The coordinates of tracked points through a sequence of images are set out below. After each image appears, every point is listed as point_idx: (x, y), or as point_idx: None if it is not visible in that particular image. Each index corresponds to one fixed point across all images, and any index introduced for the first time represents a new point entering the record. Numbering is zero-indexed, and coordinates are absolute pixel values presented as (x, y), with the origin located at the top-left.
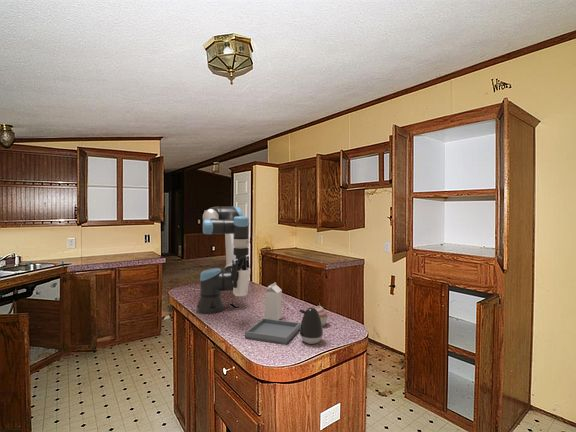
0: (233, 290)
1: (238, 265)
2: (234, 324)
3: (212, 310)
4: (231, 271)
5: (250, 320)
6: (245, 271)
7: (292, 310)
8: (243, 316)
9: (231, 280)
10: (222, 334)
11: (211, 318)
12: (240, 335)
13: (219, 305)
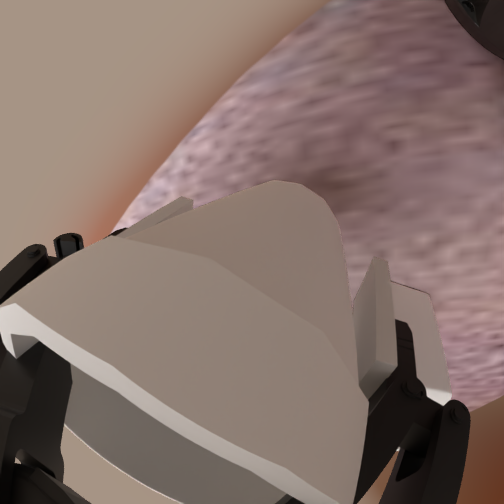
0: (162, 210)
1: (24, 468)
2: (314, 146)
3: (456, 6)
4: (68, 262)
5: (378, 215)
6: (103, 446)
7: (473, 361)
8: (436, 173)
9: (68, 237)
10: (191, 131)
11: (382, 15)
12: (197, 202)
13: (498, 36)
